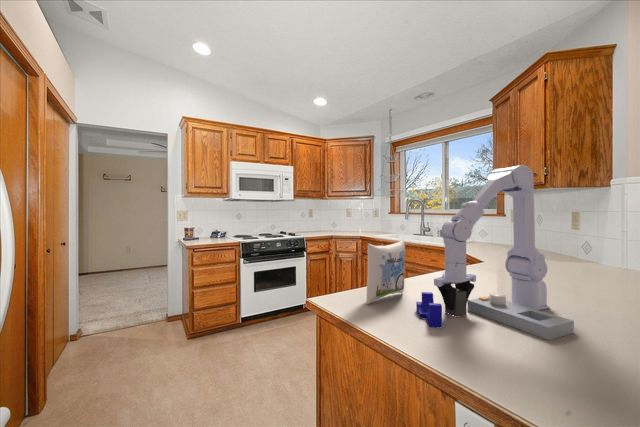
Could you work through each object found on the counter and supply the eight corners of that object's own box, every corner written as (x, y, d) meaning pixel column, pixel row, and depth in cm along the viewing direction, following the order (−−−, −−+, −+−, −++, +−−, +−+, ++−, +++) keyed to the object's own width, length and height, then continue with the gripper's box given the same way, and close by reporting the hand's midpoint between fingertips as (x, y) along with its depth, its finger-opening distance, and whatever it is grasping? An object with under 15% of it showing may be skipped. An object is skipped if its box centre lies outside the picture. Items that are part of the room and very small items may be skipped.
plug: (455, 310, 86) (455, 287, 86) (466, 315, 82) (466, 291, 82) (445, 312, 85) (445, 289, 85) (456, 317, 81) (456, 292, 81)
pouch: (358, 301, 96) (357, 242, 96) (396, 291, 107) (395, 238, 107) (375, 307, 90) (374, 244, 89) (413, 296, 100) (413, 240, 100)
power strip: (490, 305, 90) (490, 288, 90) (573, 332, 70) (573, 310, 70) (467, 309, 87) (467, 291, 87) (548, 340, 66) (548, 316, 66)
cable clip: (416, 311, 87) (416, 291, 86) (432, 312, 86) (432, 292, 86) (423, 327, 75) (423, 304, 75) (441, 328, 74) (441, 305, 74)
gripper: (462, 258, 90) (462, 300, 90) (426, 261, 84) (426, 307, 84) (482, 261, 83) (482, 307, 83) (444, 265, 78) (445, 315, 78)
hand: (455, 308), depth 83 cm, fingers open, 4 cm apart
